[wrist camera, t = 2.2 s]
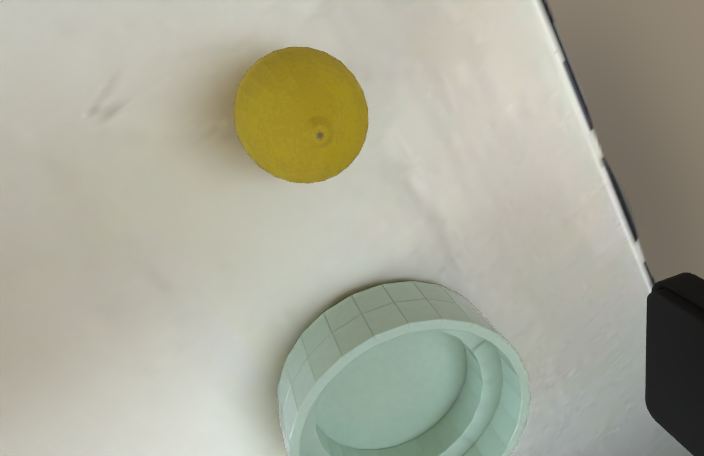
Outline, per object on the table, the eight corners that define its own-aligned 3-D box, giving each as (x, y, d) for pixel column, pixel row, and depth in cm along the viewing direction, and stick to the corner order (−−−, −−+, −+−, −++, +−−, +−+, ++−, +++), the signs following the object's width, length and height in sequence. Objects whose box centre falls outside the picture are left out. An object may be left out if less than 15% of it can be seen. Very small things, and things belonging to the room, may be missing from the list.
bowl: (234, 435, 33) (241, 501, 28) (351, 240, 30) (379, 280, 26) (415, 484, 39) (444, 545, 34) (527, 323, 36) (574, 368, 31)
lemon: (212, 58, 25) (220, 78, 18) (326, 29, 26) (378, 36, 19) (248, 169, 27) (267, 226, 20) (351, 139, 28) (405, 183, 21)
